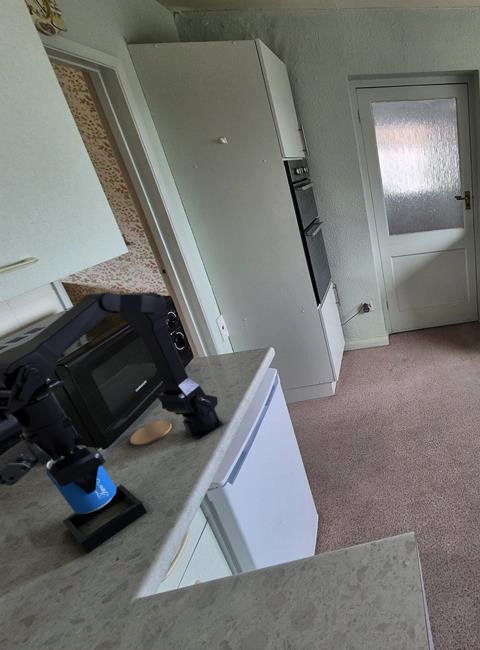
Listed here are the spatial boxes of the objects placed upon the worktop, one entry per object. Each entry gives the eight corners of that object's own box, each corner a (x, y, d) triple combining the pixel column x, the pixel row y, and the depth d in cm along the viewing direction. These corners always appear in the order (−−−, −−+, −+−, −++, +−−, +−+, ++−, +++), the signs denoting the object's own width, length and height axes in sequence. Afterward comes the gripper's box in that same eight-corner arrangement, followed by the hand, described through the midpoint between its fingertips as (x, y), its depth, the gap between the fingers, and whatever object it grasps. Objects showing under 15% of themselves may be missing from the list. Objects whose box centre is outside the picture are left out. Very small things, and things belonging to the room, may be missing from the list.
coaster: (162, 418, 107) (161, 416, 107) (178, 427, 103) (177, 426, 103) (124, 438, 101) (123, 437, 100) (139, 450, 96) (138, 448, 96)
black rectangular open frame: (127, 493, 83) (121, 484, 82) (147, 512, 79) (141, 502, 77) (69, 530, 76) (62, 520, 75) (87, 553, 71) (80, 543, 70)
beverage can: (93, 518, 72) (60, 472, 67) (67, 514, 73) (33, 468, 68) (126, 489, 77) (98, 445, 72) (101, 486, 79) (72, 442, 74)
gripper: (-38, 433, 65) (13, 498, 72) (-11, 473, 56) (44, 543, 62) (49, 397, 74) (87, 457, 80) (84, 426, 65) (124, 491, 71)
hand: (85, 485), depth 73 cm, fingers closed on beverage can, 6 cm apart
